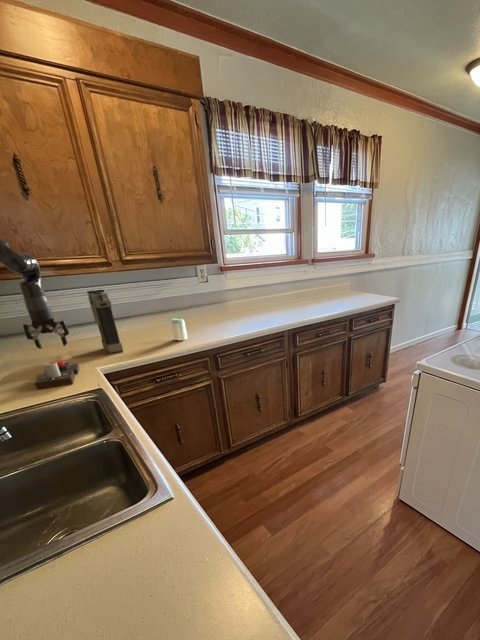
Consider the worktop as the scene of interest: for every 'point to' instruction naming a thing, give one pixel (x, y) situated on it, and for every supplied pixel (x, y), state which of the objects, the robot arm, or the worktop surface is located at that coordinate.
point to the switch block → (68, 368)
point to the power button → (60, 363)
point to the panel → (55, 380)
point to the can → (179, 329)
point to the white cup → (52, 369)
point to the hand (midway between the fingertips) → (52, 346)
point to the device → (105, 321)
